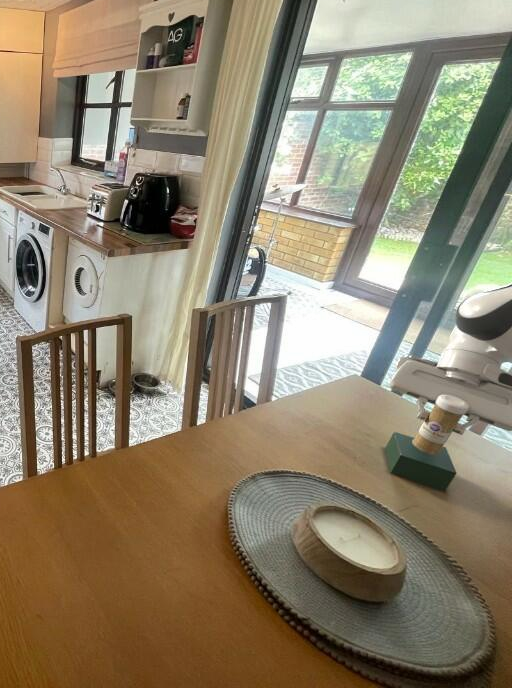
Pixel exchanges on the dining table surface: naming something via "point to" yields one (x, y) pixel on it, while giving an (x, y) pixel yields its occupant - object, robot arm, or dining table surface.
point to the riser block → (419, 463)
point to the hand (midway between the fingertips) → (439, 425)
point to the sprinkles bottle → (440, 424)
